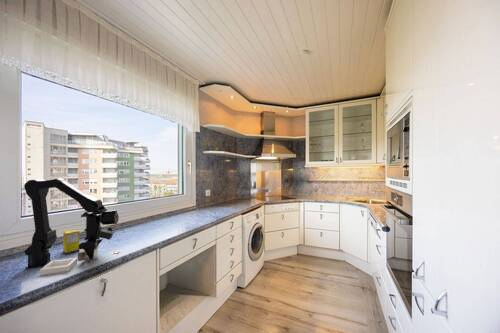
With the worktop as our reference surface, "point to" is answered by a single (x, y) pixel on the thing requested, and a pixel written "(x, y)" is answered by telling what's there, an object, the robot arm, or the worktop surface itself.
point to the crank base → (114, 253)
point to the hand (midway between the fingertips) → (92, 257)
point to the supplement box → (71, 241)
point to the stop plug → (94, 255)
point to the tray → (58, 266)
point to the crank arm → (81, 255)
